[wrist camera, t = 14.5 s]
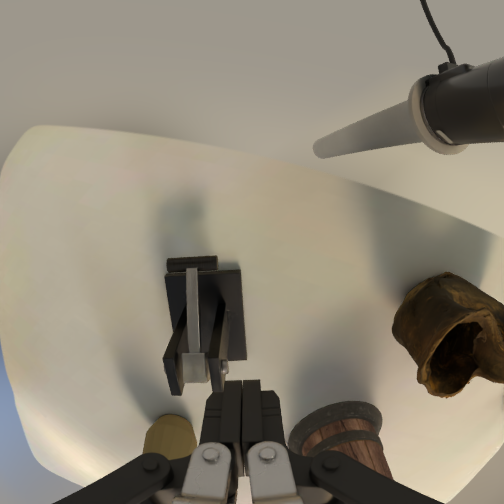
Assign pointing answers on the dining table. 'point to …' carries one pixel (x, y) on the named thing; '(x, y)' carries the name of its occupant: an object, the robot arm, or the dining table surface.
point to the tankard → (343, 434)
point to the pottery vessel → (451, 334)
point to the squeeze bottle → (170, 437)
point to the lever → (193, 315)
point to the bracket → (206, 325)
